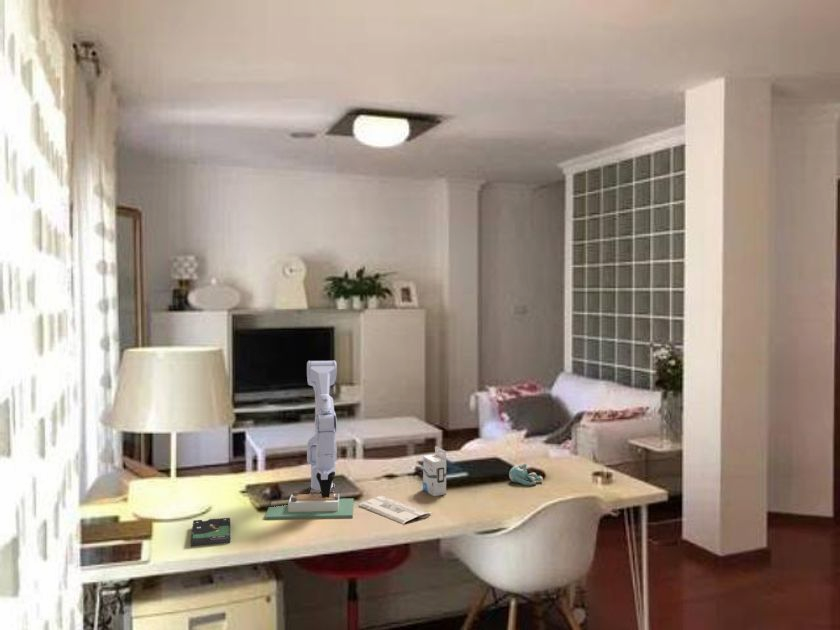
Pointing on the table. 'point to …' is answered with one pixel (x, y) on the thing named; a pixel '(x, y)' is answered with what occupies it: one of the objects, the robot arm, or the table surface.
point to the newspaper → (393, 509)
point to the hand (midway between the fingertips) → (325, 496)
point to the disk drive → (210, 532)
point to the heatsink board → (310, 515)
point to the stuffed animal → (523, 475)
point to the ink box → (435, 473)
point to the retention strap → (313, 497)
